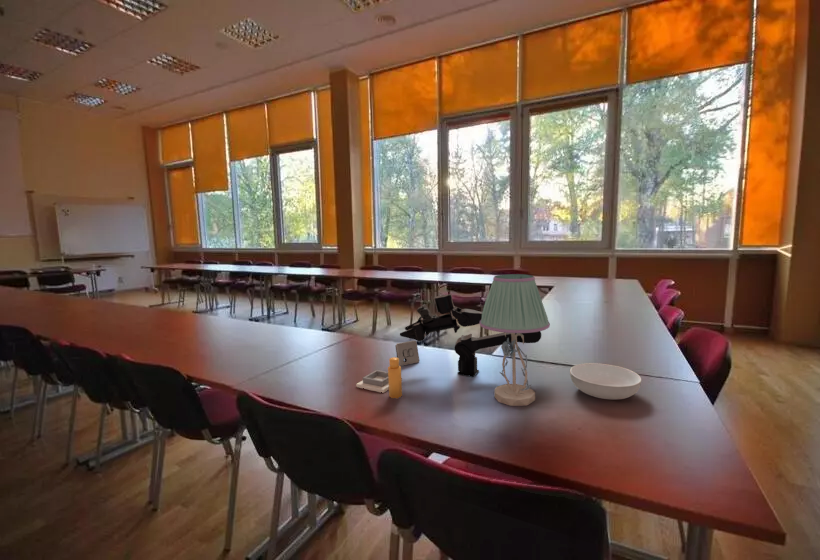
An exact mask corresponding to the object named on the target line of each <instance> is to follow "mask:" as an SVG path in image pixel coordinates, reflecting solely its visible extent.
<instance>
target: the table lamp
mask: <svg viewBox="0 0 820 560" xmlns="http://www.w3.org/2000/svg"><path fill="white" fill-rule="evenodd" d="M481 312H482V319H481V320H480V324H479V326H480V327H481V328H482V329H485V330H488V331H492V332H493V331H494V332H499V333H504V332H505V337H506V333H511V337H512V339H511V343H510V342H509V338H508V339H507V342H506V341H505V342H503V344H502V345H500V346H501V349H502V350H501V351H502V353H503V358H502V364H501V365H502V371H499V374H500V375H501V376H502V377H503V378H504V379H505V381H506V383H505V384H502V385H497V386H496V387H495V388H494V392H493V393H494V397H493V398H495V400H496V401H497V402H498V403H501V404H504V405H507V406H510V407H517V406H518V407H520V406H525V407H526V406H528V405H530V404H532V403H533V402H535V401H536V391H534V390H533V389H532V388H531V386H532V384H529V381H528V371H527V366H528V357H527V356H528V355H527V354H525V353H524V352H523V350H521V348H520V347H519V345H518V342H517V336H518V335H520V336H521V337H522V339H523V343H522V345H524V344H525V343H524V335H522V334H521V333H532V332H538V331H540V332H542V331H545V330H548V329H549V328H550V326H551V324H550V321H549V317H548V315H547V312H546V310H545V306H544V303H543V300H542V297H541V295H540V292H539V289H538V285H537V283H536V278H535V275H532V274H525V273H524V274H523V273H522V274H521V273H520V274H519V273H516V274H515V273H512V274H511V273H508V274H498V275H494V276H493V278H492V281H491V286H490V288H489V291H488V294H487V296H486V299H485V302H484V305H483V309H482V311H481ZM515 333H517V334H516V335H515ZM516 353H517V355H518V357H519V359H520V362H521V364H522V367H521V368H520V369H521V371H522V375H523V376H524V381H523V385H522V384H519V383H517V371H516V370H517V369H516V368H517V367H516V366H517V365H516V364H517V363H516ZM522 355H523V356H524V357H525V360H524V359H523V356H522ZM508 357H510V358H511V359H512V360H511V361H512V362H511V364H512V365H511V366H512V368H511V371H512V373H511V374H512V383H510V380H509V379H508V377H507V374H506V369H505V368H506V367H507V365H508V363H509V361H508V359H507V358H508Z"/></svg>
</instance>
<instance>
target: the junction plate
mask: <svg viewBox="0 0 820 560" xmlns="http://www.w3.org/2000/svg"><path fill="white" fill-rule="evenodd" d="M401 380H402V381H403V378H402V377H401ZM356 388H358V389H359V388H360V389H363V388H364V389H365V390H369V391H372V392H377V393H381V392H382V394H385V393H386V392H387V390H388V391H389V380H388V371H384V370H379V369H376V370H374V371H372V372H370V373H369V374H367V375H365V376H363V377H362V380H361V381H359V382H358V383H356ZM364 389H363V390H364Z"/></svg>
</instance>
